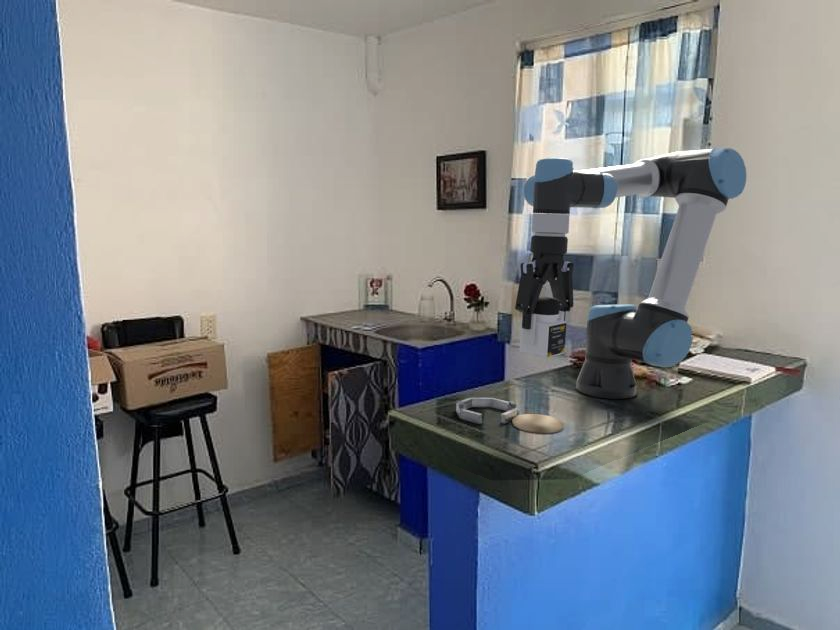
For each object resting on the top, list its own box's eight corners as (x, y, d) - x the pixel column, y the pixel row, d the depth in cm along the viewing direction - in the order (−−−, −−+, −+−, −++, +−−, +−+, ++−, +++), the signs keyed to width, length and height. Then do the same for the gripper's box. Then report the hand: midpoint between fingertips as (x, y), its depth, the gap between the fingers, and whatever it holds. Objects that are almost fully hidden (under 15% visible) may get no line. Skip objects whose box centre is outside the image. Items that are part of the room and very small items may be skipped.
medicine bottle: (547, 358, 128) (551, 301, 126) (518, 352, 133) (521, 297, 131) (565, 353, 133) (568, 298, 131) (536, 348, 138) (539, 294, 136)
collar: (507, 405, 149) (507, 394, 148) (521, 423, 136) (521, 411, 136) (453, 405, 147) (453, 394, 147) (462, 423, 135) (463, 411, 134)
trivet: (554, 416, 142) (554, 413, 142) (570, 433, 131) (570, 430, 131) (507, 416, 141) (507, 414, 140) (519, 433, 130) (519, 430, 130)
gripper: (569, 234, 138) (562, 334, 142) (500, 233, 126) (494, 343, 130) (596, 236, 132) (588, 340, 136) (527, 235, 120) (520, 350, 124)
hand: (542, 342), depth 133 cm, fingers closed on medicine bottle, 8 cm apart
